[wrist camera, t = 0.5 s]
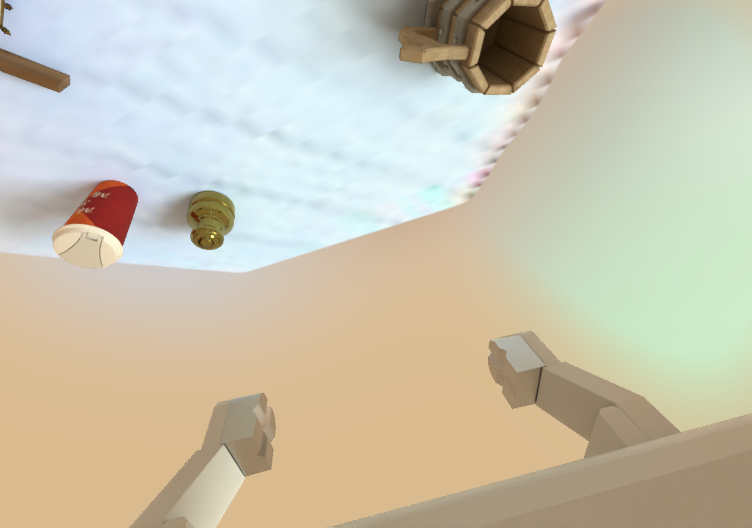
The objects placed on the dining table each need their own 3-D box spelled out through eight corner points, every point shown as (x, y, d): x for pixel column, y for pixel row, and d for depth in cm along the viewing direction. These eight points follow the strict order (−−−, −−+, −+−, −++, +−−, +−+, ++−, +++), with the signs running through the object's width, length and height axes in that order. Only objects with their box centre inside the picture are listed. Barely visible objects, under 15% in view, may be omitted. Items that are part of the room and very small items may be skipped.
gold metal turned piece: (205, 227, 62) (197, 264, 55) (181, 196, 56) (169, 233, 49) (242, 217, 62) (239, 252, 55) (222, 184, 56) (216, 219, 50)
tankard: (518, -31, 44) (592, -19, 34) (489, 72, 53) (541, 107, 43) (376, -41, 40) (412, -30, 30) (371, 73, 49) (397, 111, 39)
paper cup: (96, 165, 50) (55, 221, 40) (152, 189, 54) (128, 245, 45) (82, 200, 53) (41, 259, 43) (136, 220, 58) (110, 278, 48)
